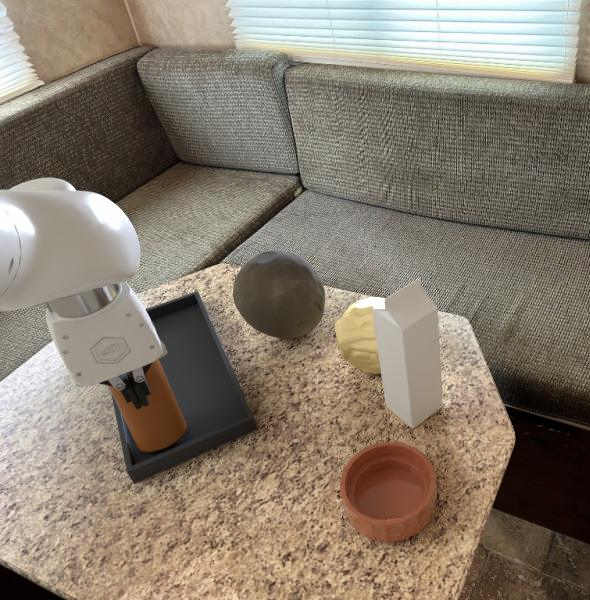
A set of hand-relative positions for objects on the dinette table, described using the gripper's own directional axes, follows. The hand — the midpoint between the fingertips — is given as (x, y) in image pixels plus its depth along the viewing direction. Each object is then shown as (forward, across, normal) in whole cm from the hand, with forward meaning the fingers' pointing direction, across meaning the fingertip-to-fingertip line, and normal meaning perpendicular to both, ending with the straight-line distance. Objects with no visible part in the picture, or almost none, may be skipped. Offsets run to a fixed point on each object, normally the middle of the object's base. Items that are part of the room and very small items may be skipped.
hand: (141, 400), depth 78 cm
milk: (+12, +34, -11) cm, 37 cm away
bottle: (+10, 0, +2) cm, 10 cm away
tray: (+11, +4, +15) cm, 19 cm away
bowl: (+11, +24, -23) cm, 35 cm away
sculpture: (+12, +34, +1) cm, 35 cm away
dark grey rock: (+12, +24, +15) cm, 30 cm away
